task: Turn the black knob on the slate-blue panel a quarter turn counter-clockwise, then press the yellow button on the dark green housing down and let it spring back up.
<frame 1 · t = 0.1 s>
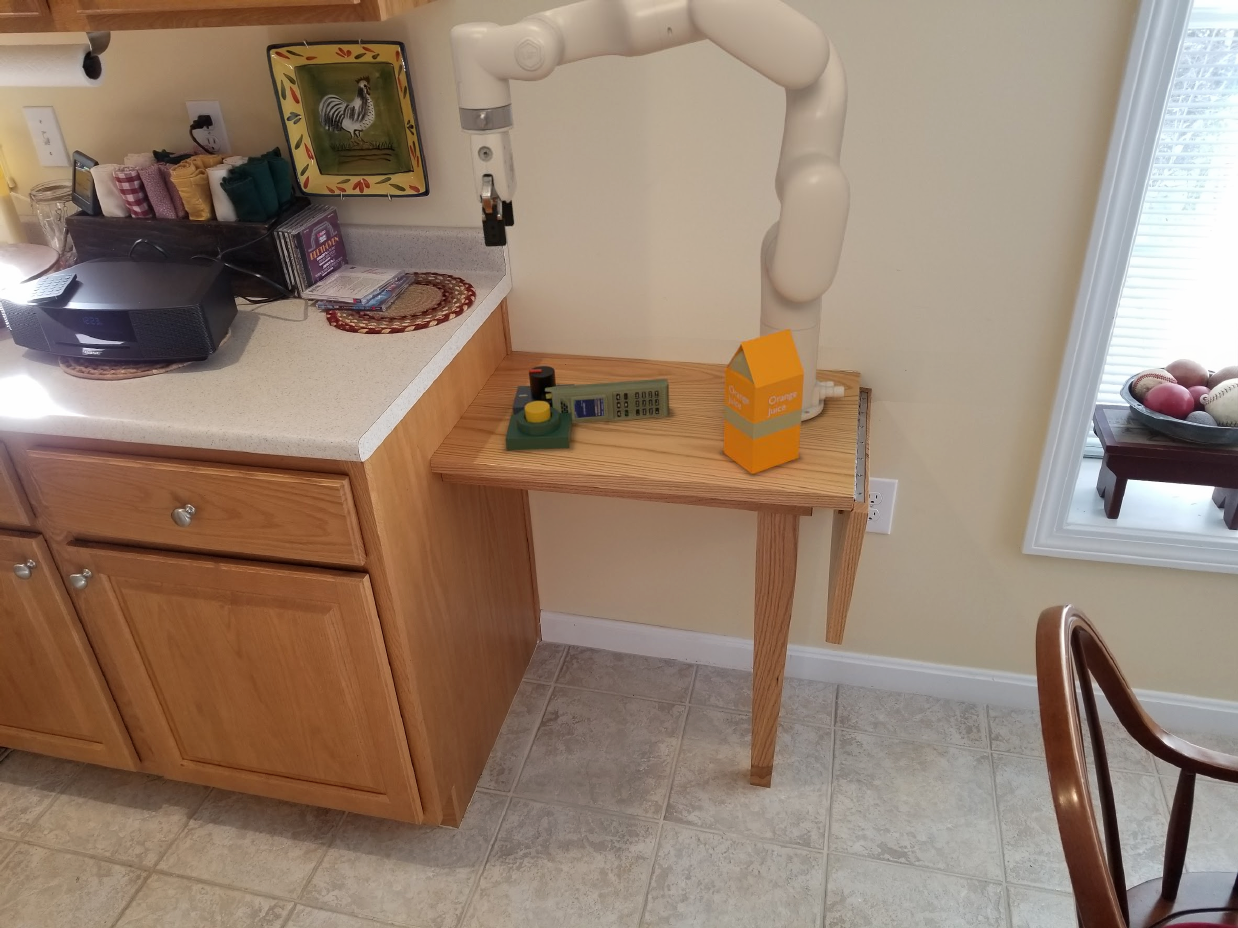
hand: (500, 235, 139), 31 cm above the table, tool pointing down, fingers open, 9 cm apart
orange juice: (760, 456, 140), on the table
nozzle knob: (542, 382, 154), point 5 cm above the table, hinge at 0.0°
nozzle panel: (545, 408, 157), on the table
handheld radio: (595, 422, 153), on the table, touching nozzle panel, trigger housing
trigger housing: (540, 437, 148), on the table
trigger: (537, 412, 146), point 5 cm above the table, slide at 0.1 cm
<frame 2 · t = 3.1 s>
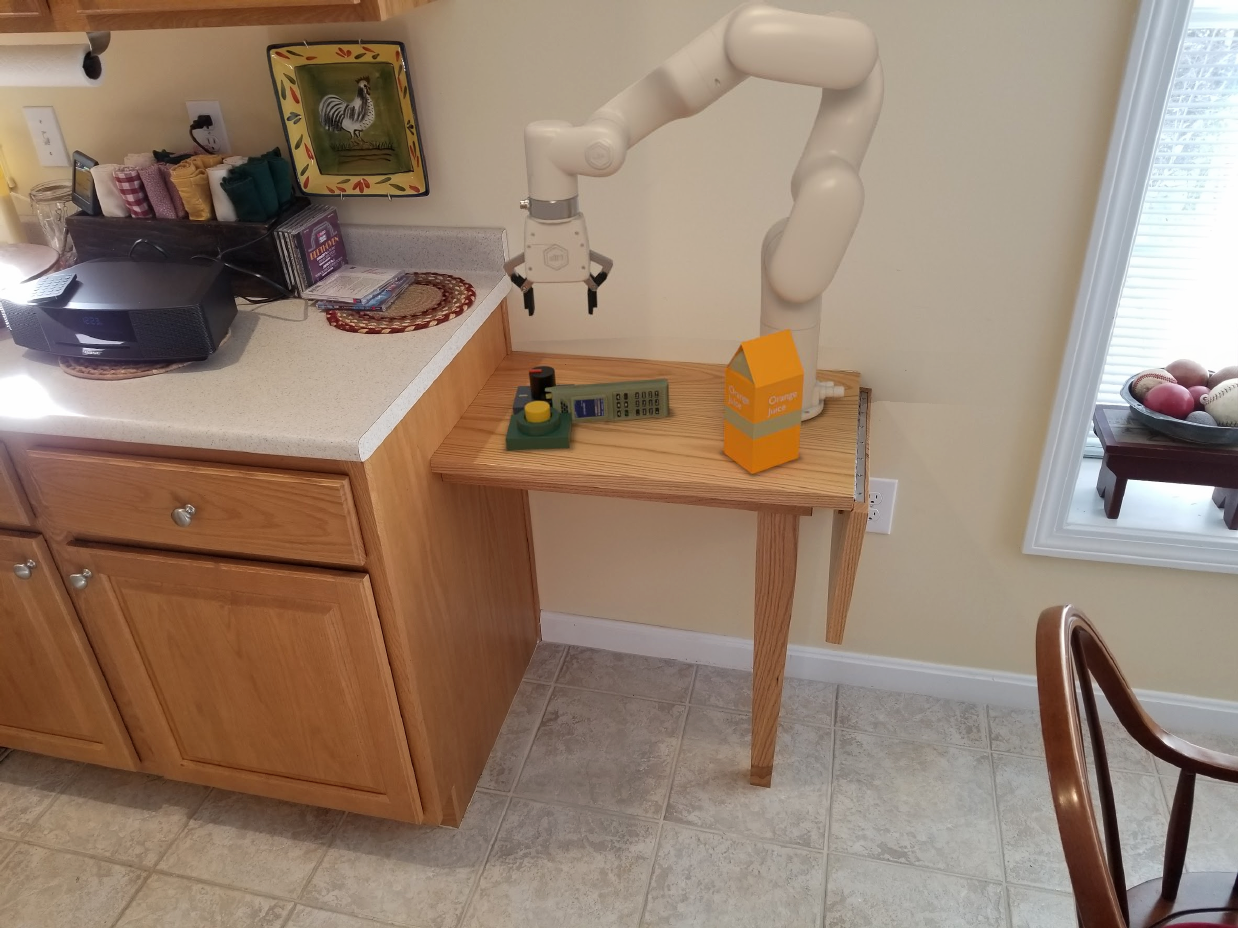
hand: (561, 312, 147), 18 cm above the table, tool pointing down, fingers open, 9 cm apart
nothing on the table moved.
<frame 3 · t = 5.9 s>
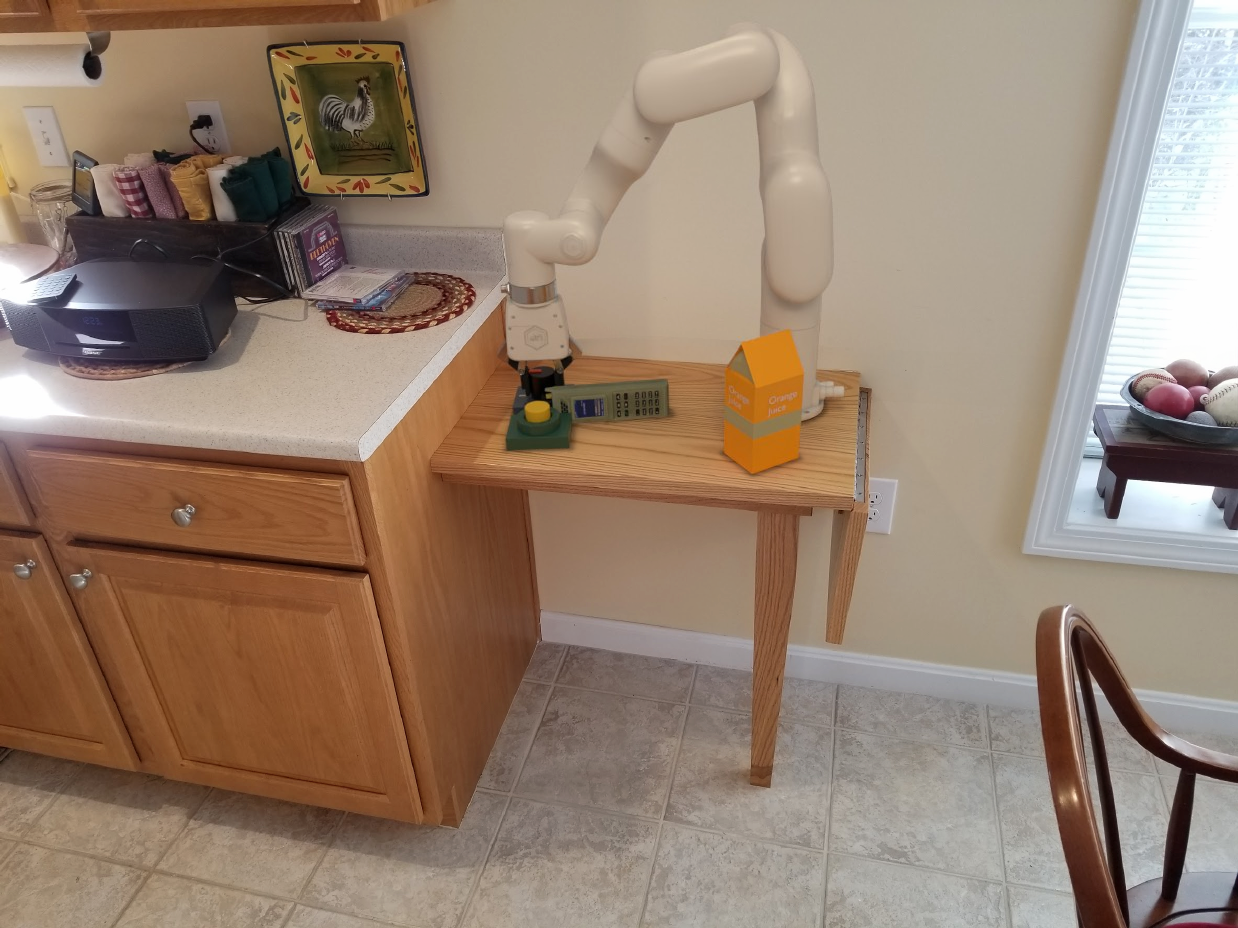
hand: (543, 391, 155), 3 cm above the table, tool pointing down, fingers closed on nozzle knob, 4 cm apart
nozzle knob: (542, 382, 154), point 5 cm above the table, hinge at 0.0°, touching gripper
everything else where it was.
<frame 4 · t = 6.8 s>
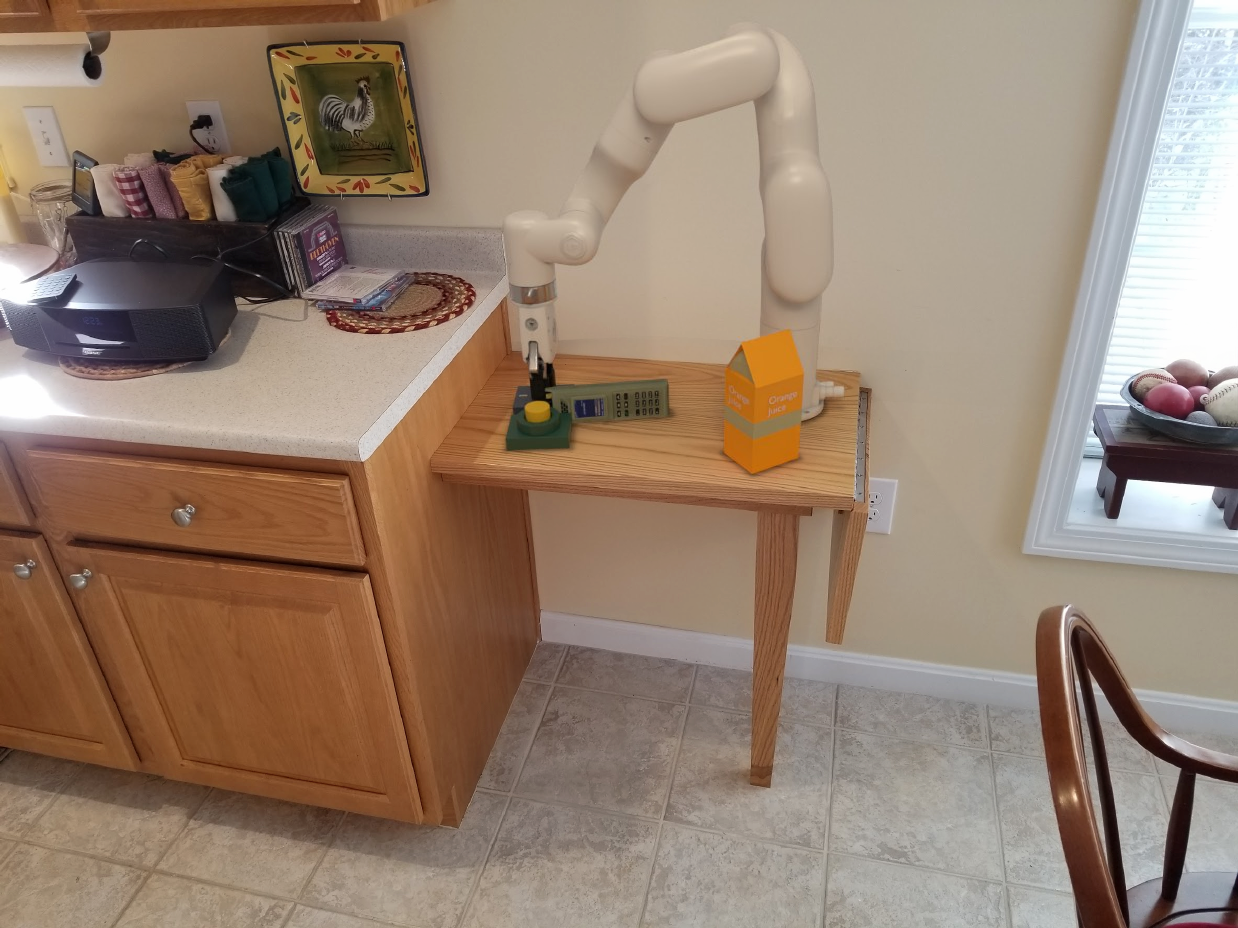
hand: (543, 390, 155), 3 cm above the table, tool pointing down, fingers closed on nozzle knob, 4 cm apart
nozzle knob: (542, 382, 154), point 5 cm above the table, hinge at 87.0°, touching gripper
handheld radio: (595, 422, 153), on the table, touching gripper, nozzle panel, trigger housing
everything else where it was.
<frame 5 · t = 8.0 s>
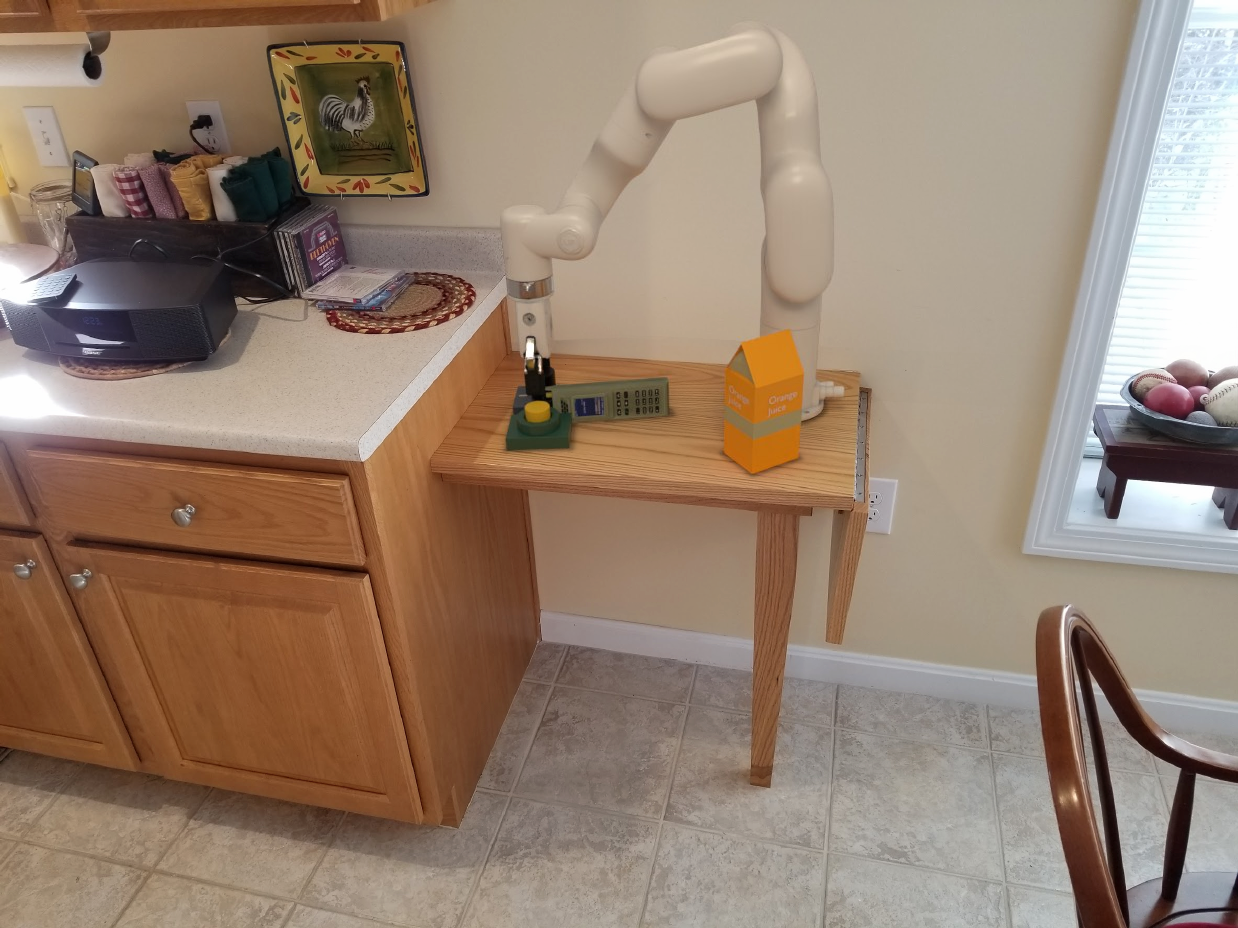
hand: (538, 381, 154), 5 cm above the table, tool pointing down, fingers open, 9 cm apart
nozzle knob: (542, 382, 154), point 5 cm above the table, hinge at 88.6°
handheld radio: (595, 420, 153), on the table, touching nozzle panel, trigger housing
everything else where it was.
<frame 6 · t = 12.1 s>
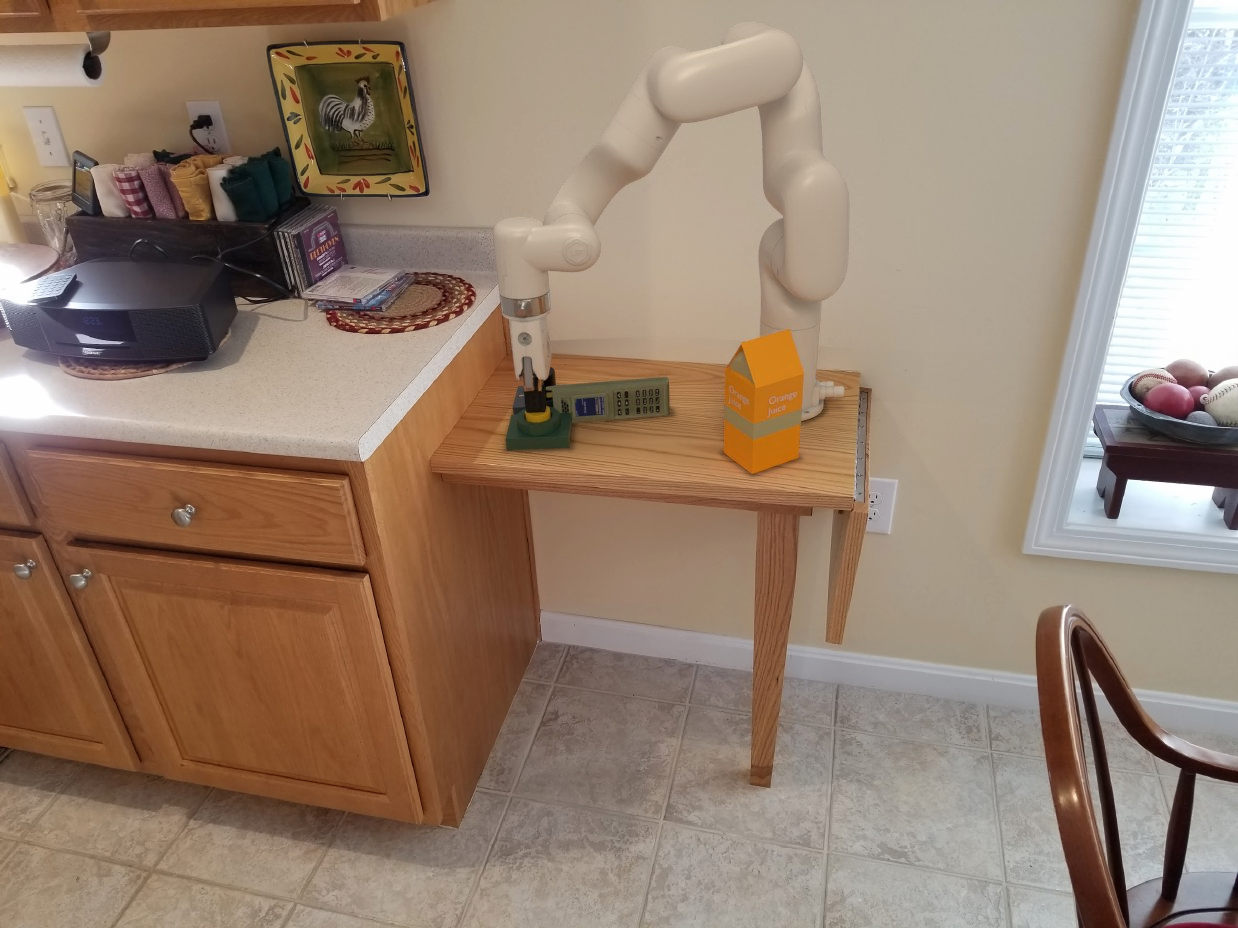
hand: (536, 410, 146), 5 cm above the table, tool pointing down, fingers closed
trigger: (538, 415, 146), point 4 cm above the table, slide at -0.6 cm, touching gripper
everything else where it was.
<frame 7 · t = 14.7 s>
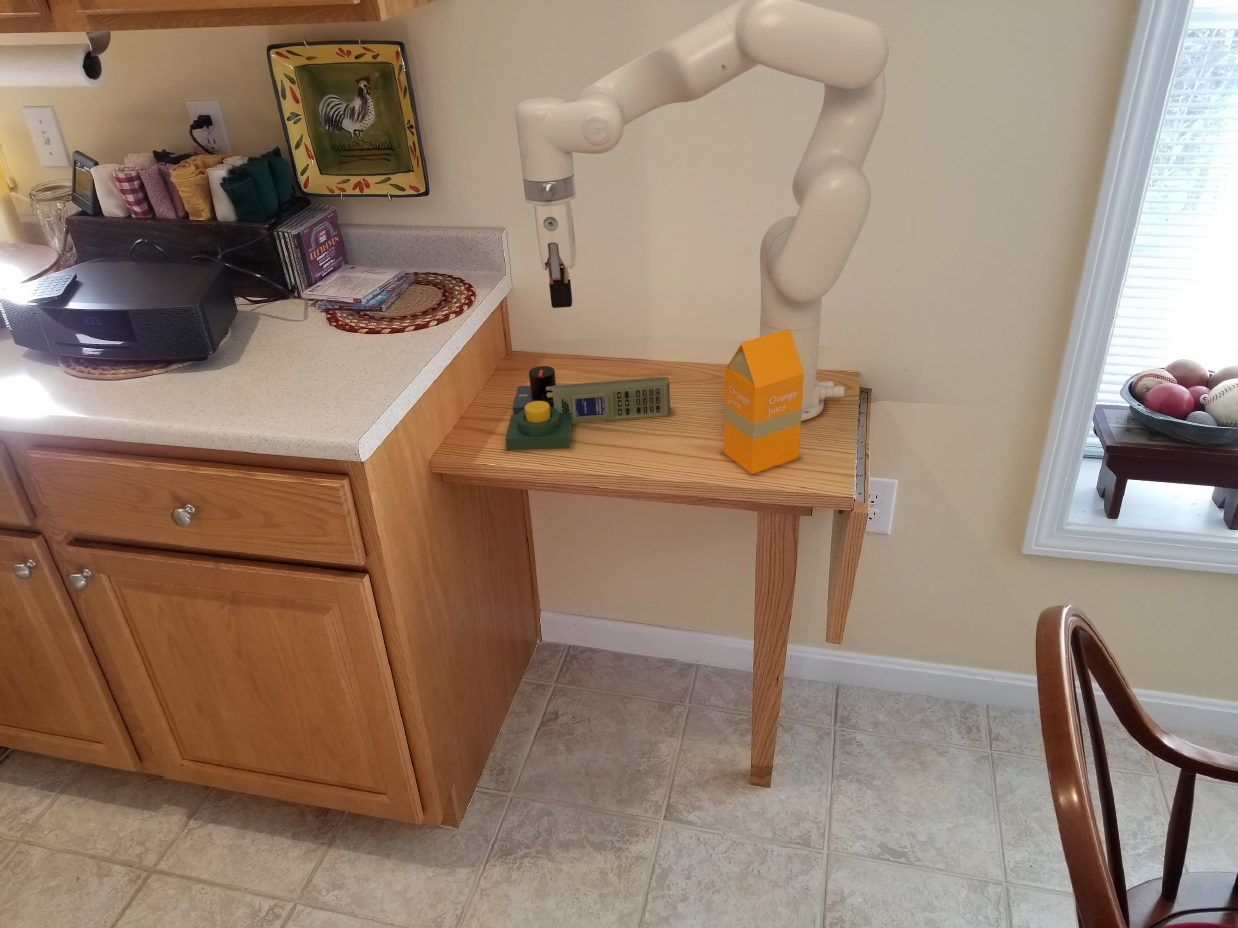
hand: (562, 305, 143), 20 cm above the table, tool pointing down, fingers closed
trigger: (537, 412, 146), point 5 cm above the table, slide at 0.1 cm
everything else where it was.
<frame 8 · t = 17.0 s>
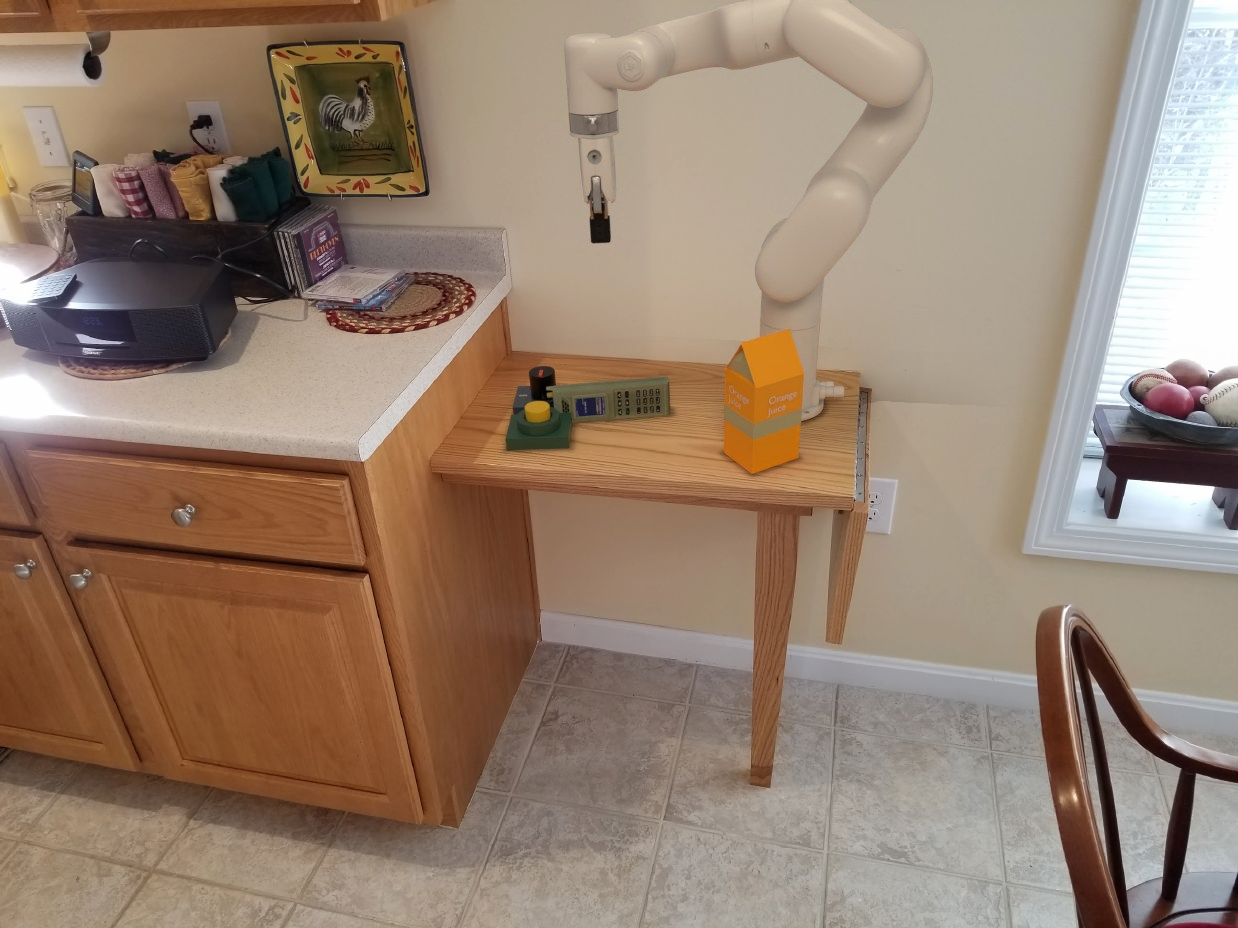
hand: (601, 241, 147), 27 cm above the table, tool pointing down, fingers closed
nothing on the table moved.
at the end: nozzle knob at +89° (first picture: +0°); trigger pushed in 1.1 cm at the most during the clip, back to where it started at the end; trigger slide at 0.1 cm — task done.
